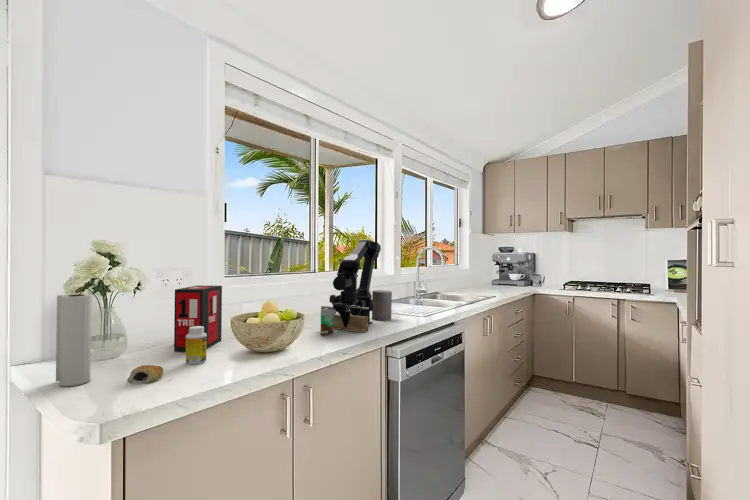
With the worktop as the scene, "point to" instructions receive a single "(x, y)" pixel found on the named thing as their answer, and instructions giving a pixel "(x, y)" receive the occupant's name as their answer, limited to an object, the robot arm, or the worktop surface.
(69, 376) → the grey tall cylinder
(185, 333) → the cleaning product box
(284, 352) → the worktop surface
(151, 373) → the pastry
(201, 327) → the supplement bottle
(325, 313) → the food container
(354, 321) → the block
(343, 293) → the robot arm
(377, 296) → the pillar candle
